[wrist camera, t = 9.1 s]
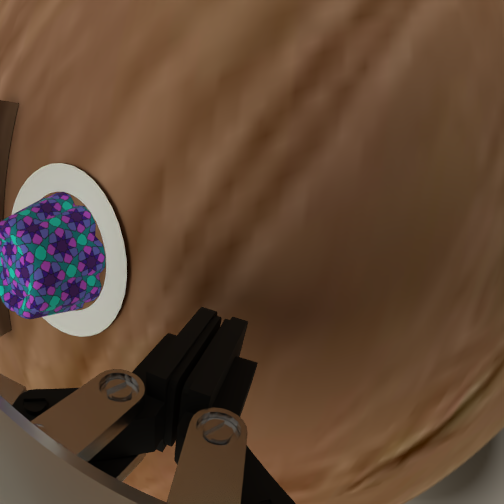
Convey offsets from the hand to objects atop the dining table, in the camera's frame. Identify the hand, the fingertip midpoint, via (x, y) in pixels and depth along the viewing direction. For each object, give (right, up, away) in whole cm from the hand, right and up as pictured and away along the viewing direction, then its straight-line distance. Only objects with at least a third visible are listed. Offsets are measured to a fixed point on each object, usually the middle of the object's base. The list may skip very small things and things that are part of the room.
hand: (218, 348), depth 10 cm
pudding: (-12, +3, +8) cm, 14 cm away
